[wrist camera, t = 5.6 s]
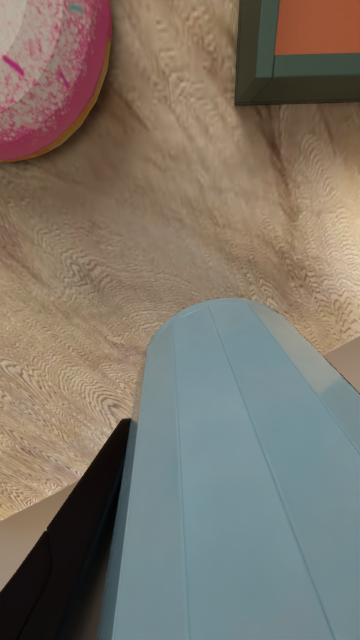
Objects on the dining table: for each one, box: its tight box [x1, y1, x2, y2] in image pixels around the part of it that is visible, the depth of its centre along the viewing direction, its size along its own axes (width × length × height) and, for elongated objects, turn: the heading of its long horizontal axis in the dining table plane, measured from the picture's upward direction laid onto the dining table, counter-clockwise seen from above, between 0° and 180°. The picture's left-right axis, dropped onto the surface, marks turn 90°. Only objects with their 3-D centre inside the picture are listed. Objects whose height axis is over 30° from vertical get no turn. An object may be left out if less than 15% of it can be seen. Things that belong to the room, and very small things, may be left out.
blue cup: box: [97, 298, 360, 640], centre depth 7 cm, size 7×7×9 cm
